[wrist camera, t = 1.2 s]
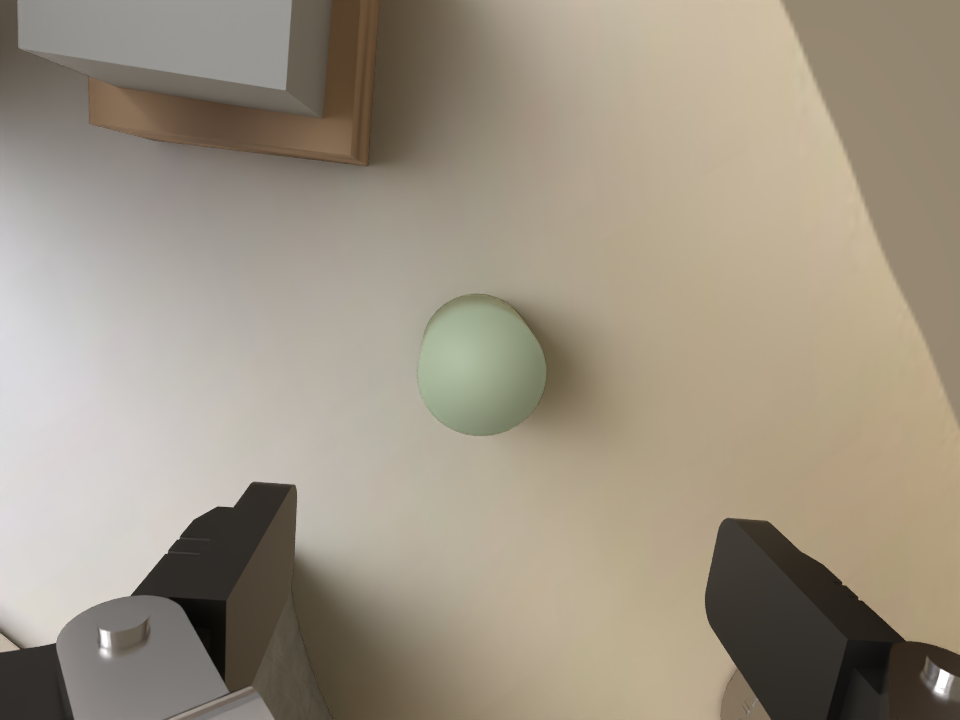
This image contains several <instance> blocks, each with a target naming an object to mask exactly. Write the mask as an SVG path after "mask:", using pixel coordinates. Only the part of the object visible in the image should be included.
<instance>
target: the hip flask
mask: <svg viewBox="0 0 960 720" xmlns="http://www.w3.org/2000/svg"><path fill="white" fill-rule="evenodd" d="M251 687H253V688H254V689H255V690H256V691H257V692H258V693H259V695H260V696H261V698H262V699H263V701H264V703H265V704H266V706H267V708H268V709H269V711H270V712H271V714H272V716H273V717H274V719H275V720H333V718H332V716H331V714H330V712H329V710H328V708H327V706H326V703H325V701H324V699H323V697H322V694H321V692H320V689H319V687H318V684H317V682H316V679H315V676H314V673H313V670H312V668H311V665H310V662H309V659H308V656H307V653H306V650H305V647H304V643H303V640H302V637H301V633H300V630H299V625H298V621H297V617H296V613H295V608H294V603H293V598H292V591H291V587H290V592H289V595H288V599H287V601H286V604H285V606H284V608H283V611H282V613H281V616H280V618H279V621H278V623H277V625H276V628H275V630H274V633H273V635H272V637H271V640H270V642H269V645H268V647H267V650H266V652H265V654H264V657H263V659H262V662H261V664H260V666H259V669H258V671H257V674H256V676H255V678H254V681H253V683H252V686H251Z"/></svg>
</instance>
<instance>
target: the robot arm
mask: <svg viewBox="0 0 960 720" xmlns="http://www.w3.org/2000/svg"><path fill="white" fill-rule="evenodd" d="M296 509H297V490H296V486H295V485H291V484H277V483H264V482H252V483H251V484H250V486H249V487H248V488H247V490H246V491H245V492H244V494H243V495H242V497H241V498H240V499H239V501H238V502H237V503H236V505H235V506H234V507H233V508H232V507H216V508H214V509H212V510H211V511H209V512H207V513H205V514H203V515H202V516H200V517H198V518H196V519H194V520H193V521H192V523H191V524H190V525H189V526H188V527H187V529H186V530H185V531H184V532H183V533H182V535H181V536H180V539H179V540H177V541H176V542H175V543H174V544H173V545H172V547H171V548H170V549H169V550H168V554H165V555H164V556H163V557H162V559H161V560H160V561H159V562H158V563H157V565H156V566H155V567H154V568H153V569H152V571H151V572H150V573H149V574H148V575H147V577H146V578H145V579H144V580H143V581H142V583H141V584H140V585H139V586H138V587H137V589H136V590H135V591H134V592H133V593H132V595H131V596H129V597H122V598H118V599H114V600H110V601H107V602H104V603H101V604H99V605H96V606H94V607H91V608H90V609H88V610H86V611H84V612H82V613H81V614H79V615H78V616H76V617H74V618H73V619H72V620H71V621H70V622H69V623H67V624H66V626H65V627H64V628H63V629H62V630H61V632H60V634H59V636H58V638H57V642H56V643H54V644H50V645H45V646H40V647H34V648H27V649H20V650H13V651H7V652H0V720H275V719H274V717H273V716H272V714H271V712H270V711H269V709H268V708H267V706H266V704H265V703H264V701H263V699H262V698H261V696H260V695H259V693H258V692H257V691H256V690H255V689H254V688H253V687H251V686H252V683H253V681H254V678H255V676H256V674H257V671H258V669H259V666H260V664H261V662H262V659H263V657H264V654H265V652H266V650H267V647H268V645H269V642H270V640H271V637H272V635H273V633H274V630H275V628H276V625H277V623H278V621H279V618H280V616H281V613H282V611H283V608H284V606H285V604H286V601H287V599H288V595H289V592H290V587H291V583H292V577H293V569H294V554H295V532H296ZM705 608H706V614H707V618H708V621H709V624H710V626H711V628H712V629H713V631H714V632H715V634H716V635H717V637H718V638H719V640H720V642H721V643H722V645H723V646H724V648H725V649H726V651H727V652H728V654H729V655H730V657H731V659H732V660H733V662H734V663H735V665H736V666H737V668H738V670H737V671H736V673H735V674H734V676H733V678H732V679H731V681H730V683H729V684H728V686H727V689H726V692H725V695H724V697H723V700H722V709H721V720H960V655H958V654H956V653H954V652H951V651H949V650H947V649H944V648H941V647H938V646H934V645H931V644H927V643H921V642H913V641H906V640H904V639H903V638H902V637H901V636H900V635H899V634H898V633H897V632H896V631H895V630H894V629H892V628H891V627H890V626H889V625H888V624H887V623H886V622H885V621H884V620H883V619H882V618H881V617H879V616H878V615H877V614H876V613H875V612H874V611H873V610H872V609H871V608H870V607H869V606H867V605H866V604H865V603H864V602H863V601H860V600H858V596H857V595H855V594H854V593H853V592H852V591H851V590H850V589H849V588H848V587H847V586H844V585H842V582H841V581H840V580H839V579H838V578H837V577H836V576H835V575H834V574H833V573H832V572H830V571H829V570H828V569H827V568H826V567H825V566H824V565H823V564H821V563H819V562H818V561H816V560H814V559H813V558H811V557H809V556H808V555H806V554H804V553H802V552H801V551H800V550H799V549H797V548H796V547H795V546H794V545H793V544H792V543H791V542H790V541H789V540H788V539H787V538H786V537H785V536H784V535H783V534H782V533H780V532H779V531H778V530H777V529H776V528H775V527H774V526H773V525H772V524H771V523H769V522H768V521H761V520H748V519H735V518H726V519H725V520H723V522H722V523H721V525H720V527H719V530H718V534H717V539H716V544H715V549H714V553H713V558H712V563H711V568H710V573H709V577H708V582H707V587H706V593H705Z"/></svg>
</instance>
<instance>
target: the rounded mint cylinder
mask: <svg viewBox="0 0 960 720" xmlns="http://www.w3.org/2000/svg"><path fill="white" fill-rule="evenodd" d="M546 374H547V371H546V362H545V357H544V354H543V351H542V348H541V346H540V344H539V342H538V341H537V339H536V338H535V336H534V335H533V333H532V332H531V331H530V329H529V328H528V326H527V325H526V324H525V322H524V321H523V319H522V318H521V317H520V315H519V314H518V313H517V312H516V311H515V310H514V309H513V308H512V307H511V306H510V305H509V304H507V303H506V302H504V301H502V300H500V299H498V298H496V297H493V296H489V295H484V294H470V295H464V296H460V297H458V298H455V299H453V300H451V301H449V302H447V303H446V304H444V305H443V306H442V307H441V308H440V309H438V310H437V311H436V313H435V314H434V315H433V316H432V318H431V319H430V321H429V323H428V325H427V327H426V329H425V333H424V336H423V341H422V347H421V352H420V357H419V363H418V370H417V378H418V386H419V390H420V394H421V396H422V399H423V401H424V403H425V404H426V406H427V408H428V409H429V410H430V412H431V413H432V414H433V415H434V416H435V417H436V418H437V419H438V420H439V421H440V422H441V423H443V424H444V425H445V426H447V427H449V428H451V429H453V430H455V431H457V432H460V433H463V434H467V435H474V436H488V435H494V434H499V433H502V432H505V431H508V430H510V429H511V428H513V427H515V426H517V425H518V424H520V423H521V422H522V421H524V420H525V419H526V418H527V417H528V416H529V415H530V414H531V413H532V412H533V410H534V409H535V407H536V406H537V404H538V403H539V401H540V399H541V397H542V394H543V391H544V388H545V383H546Z"/></svg>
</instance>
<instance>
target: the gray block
mask: <svg viewBox="0 0 960 720" xmlns="http://www.w3.org/2000/svg"><path fill="white" fill-rule="evenodd" d="M17 10H18V48H19V49H22V50H24V51H27V52H29V53H32V54H34V55H37V56H39V57H42V58H44V59H47V60H50V61H52V62H55V63H57V64H60V65H62V66H65V67H67V68H70V69H72V70H75V71H78V72H80V73H83V74H85V75H88V76H90V77H93V78H95V79H98V80H100V81H103V82H106V83H108V84H111V85H113V86H116V87H120V88H126V89H133V90H139V91H146V92H152V93H159V94H165V95H171V96H178V97H184V98H191V99H197V100H204V101H210V102H217V103H223V104H229V105H236V106H242V107H249V108H255V109H262V110H268V111H275V112H281V113H287V114H294V115H300V116H307V117H313V118H320V119H323V109H324V96H325V84H326V72H327V60H328V48H329V35H330V23H331V11H332V0H17Z"/></svg>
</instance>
